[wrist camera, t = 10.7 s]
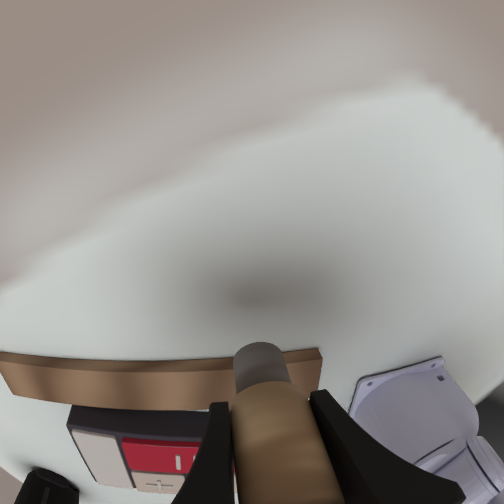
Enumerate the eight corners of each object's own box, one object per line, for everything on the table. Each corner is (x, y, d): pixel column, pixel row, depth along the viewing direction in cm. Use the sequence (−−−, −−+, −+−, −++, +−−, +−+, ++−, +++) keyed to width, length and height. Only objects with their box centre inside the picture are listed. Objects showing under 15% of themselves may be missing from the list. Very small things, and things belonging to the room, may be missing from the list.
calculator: (242, 496, 23) (94, 488, 20) (236, 464, 27) (99, 456, 24) (260, 444, 19) (62, 430, 16) (250, 404, 23) (74, 392, 20)
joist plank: (317, 348, 21) (322, 358, 19) (312, 386, 22) (316, 396, 21) (-1, 351, 18) (-7, 359, 17) (18, 386, 19) (13, 394, 18)
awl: (293, 331, 13) (355, 486, 6) (289, 380, 15) (334, 518, 7) (221, 338, 13) (238, 507, 6) (226, 387, 14) (243, 534, 7)
